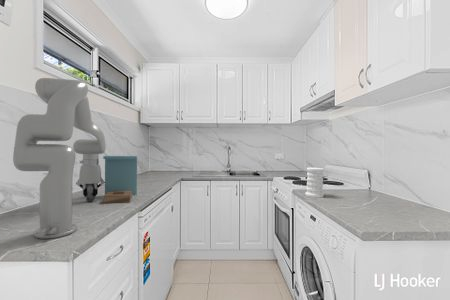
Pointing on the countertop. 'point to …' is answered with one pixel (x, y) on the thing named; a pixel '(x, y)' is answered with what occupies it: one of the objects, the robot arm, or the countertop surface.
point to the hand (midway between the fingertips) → (90, 195)
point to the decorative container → (315, 182)
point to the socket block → (117, 196)
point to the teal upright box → (121, 173)
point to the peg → (90, 192)
